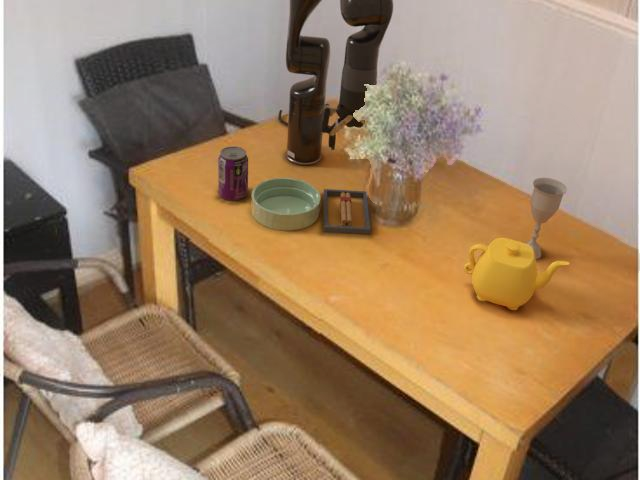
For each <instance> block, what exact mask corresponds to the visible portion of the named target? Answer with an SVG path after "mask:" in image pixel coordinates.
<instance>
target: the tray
mask: <svg viewBox="0 0 640 480" xmlns="http://www.w3.org/2000/svg"><path fill="white" fill-rule="evenodd" d="M342 192H344V193H345V194H346V193H350V197H351V198H360V199H362V204H363V214H364V225H365V226H364V227H363V226H352V227H348V226H341V225H329V211H328V209H329V208H328V207H329V206H328V197H341V193H342ZM323 233H331V234H347V235H348V234H349V235H350V234H351V235H366V236H370V235H371V221H370V211H369V203H368V193H367V191H364V190H347V189H332V188H329V189H328V188H324V189H323Z"/></svg>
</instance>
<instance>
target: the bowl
mask: <svg viewBox="0 0 640 480" xmlns="http://www.w3.org/2000/svg"><path fill="white" fill-rule="evenodd" d="M250 196H251V197H250V199H251V200H250V204H251V205H250V213H251V215H252V217H253V218H254V220H255V221H257V222H258V223H259V224H260V225H262V226H263V227H266V228H269V229H271V230H278V231H298V230H303V229H305V228H308V227H310V226H311V225H313V224H315V223H316V222H317V220H318V219H319V216H320V211H321V201H322V199H321V198H322V197H321V194H320V191H319V190H318V188H316V187H315V186H314V185H313V184H311V183H309V182H308V181H305V180H303V179H299V178H293V177H275V178H269V179H266V180H263V181H261V182H259V183H258V184H256V185H255V186H254V187H253V189H252V191H251V195H250Z"/></svg>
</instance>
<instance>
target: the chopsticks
mask: <svg viewBox="0 0 640 480" xmlns="http://www.w3.org/2000/svg"><path fill="white" fill-rule="evenodd" d="M339 210H340V223H341V224H340V226H348V227H353V226H352V224H353V215H352V214H353V213H352V197H350V193H346V194H345V193H344V192H342V193H341V196H340V198H339Z"/></svg>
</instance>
